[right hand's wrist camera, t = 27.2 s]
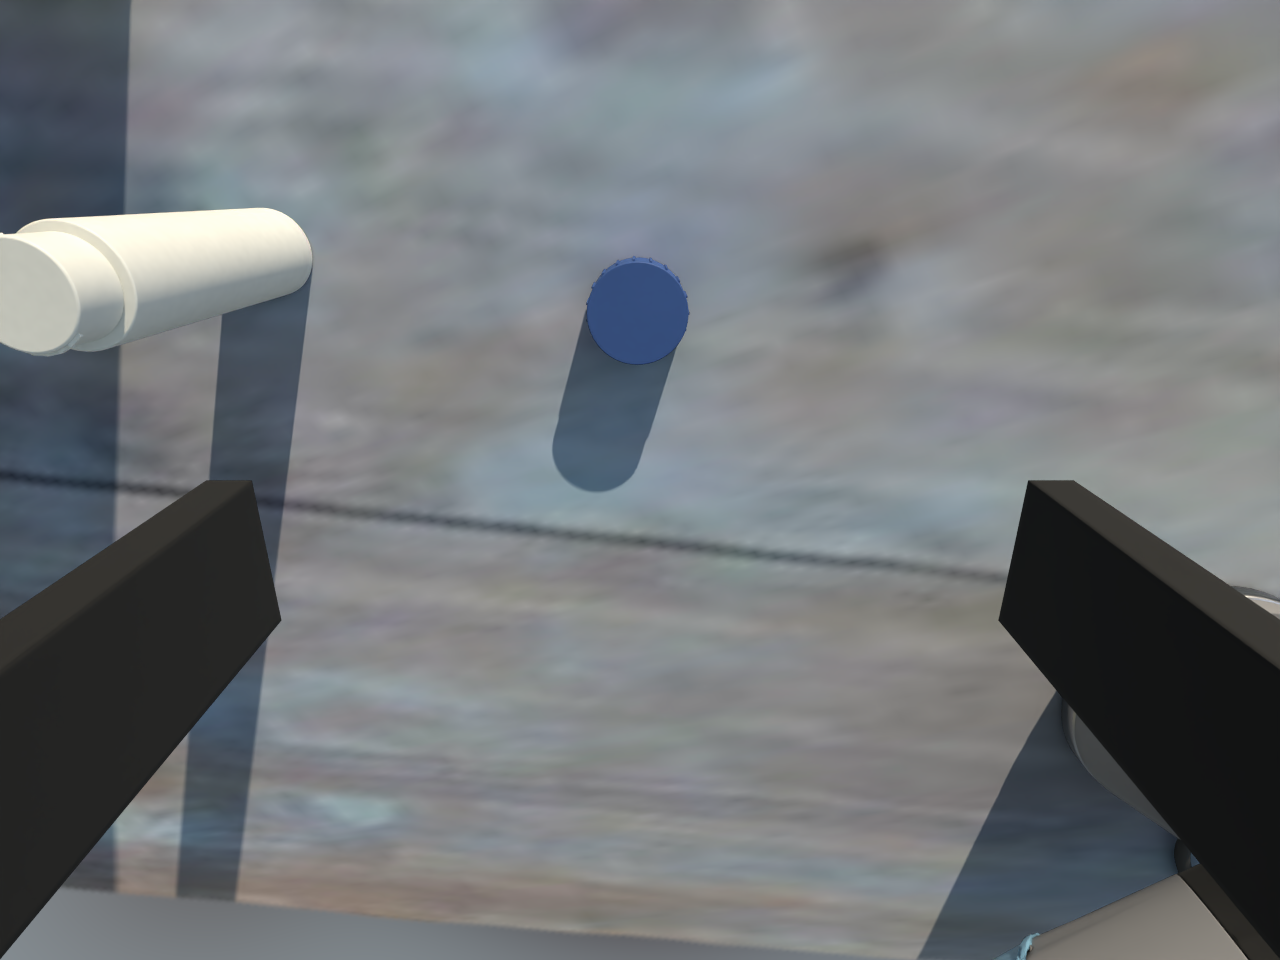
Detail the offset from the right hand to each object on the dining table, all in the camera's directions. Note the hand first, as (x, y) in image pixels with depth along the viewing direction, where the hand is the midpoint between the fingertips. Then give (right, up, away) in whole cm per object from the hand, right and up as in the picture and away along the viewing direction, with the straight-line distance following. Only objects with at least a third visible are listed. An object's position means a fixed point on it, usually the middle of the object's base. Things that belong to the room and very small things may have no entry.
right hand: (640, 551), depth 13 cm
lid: (0, +9, +22) cm, 24 cm away
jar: (-18, +12, +23) cm, 32 cm away
